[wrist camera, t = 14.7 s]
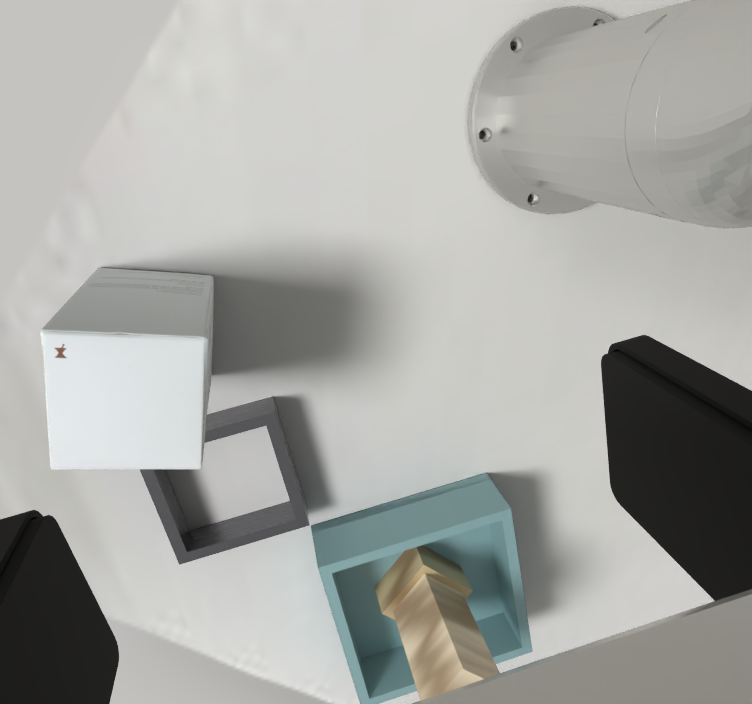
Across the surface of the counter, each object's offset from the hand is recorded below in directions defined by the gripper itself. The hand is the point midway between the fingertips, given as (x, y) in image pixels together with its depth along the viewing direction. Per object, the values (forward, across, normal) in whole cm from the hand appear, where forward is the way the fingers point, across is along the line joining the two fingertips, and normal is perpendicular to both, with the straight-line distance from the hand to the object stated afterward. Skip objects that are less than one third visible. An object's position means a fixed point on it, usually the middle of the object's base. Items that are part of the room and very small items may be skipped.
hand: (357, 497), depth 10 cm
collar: (+32, +8, +17) cm, 37 cm away
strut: (+31, -4, +31) cm, 44 cm away
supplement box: (+32, +9, +5) cm, 34 cm away
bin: (+32, -4, +31) cm, 45 cm away
